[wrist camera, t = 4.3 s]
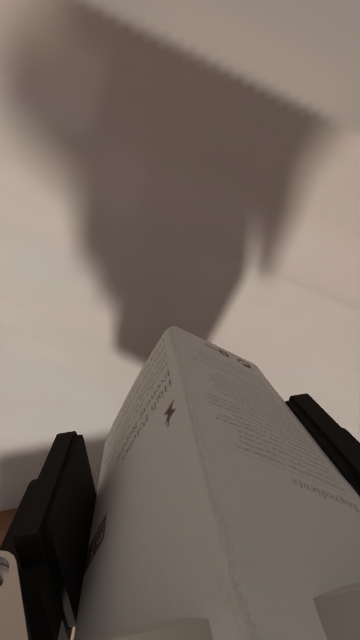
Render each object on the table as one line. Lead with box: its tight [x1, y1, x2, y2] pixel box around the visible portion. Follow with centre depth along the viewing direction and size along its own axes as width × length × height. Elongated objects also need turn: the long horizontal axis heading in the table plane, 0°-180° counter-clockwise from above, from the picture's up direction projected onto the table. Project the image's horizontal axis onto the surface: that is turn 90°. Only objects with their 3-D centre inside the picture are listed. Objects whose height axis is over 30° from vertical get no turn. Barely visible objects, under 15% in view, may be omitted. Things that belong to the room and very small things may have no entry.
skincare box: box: [73, 326, 360, 640], centre depth 9 cm, size 6×4×12 cm
